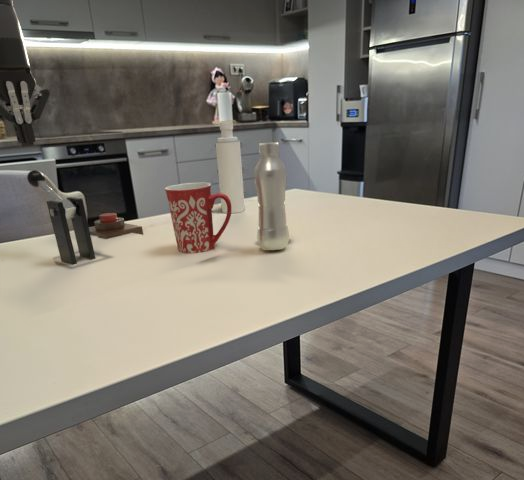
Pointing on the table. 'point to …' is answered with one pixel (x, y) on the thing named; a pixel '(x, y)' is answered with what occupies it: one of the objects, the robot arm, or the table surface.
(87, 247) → the bracket
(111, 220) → the button
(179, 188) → the mug
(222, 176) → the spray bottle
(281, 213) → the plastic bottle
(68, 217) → the tap lever
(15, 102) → the robot arm
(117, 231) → the button block
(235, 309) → the table surface
